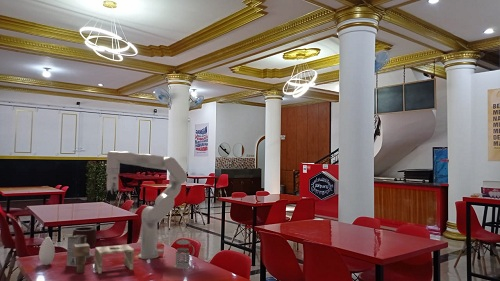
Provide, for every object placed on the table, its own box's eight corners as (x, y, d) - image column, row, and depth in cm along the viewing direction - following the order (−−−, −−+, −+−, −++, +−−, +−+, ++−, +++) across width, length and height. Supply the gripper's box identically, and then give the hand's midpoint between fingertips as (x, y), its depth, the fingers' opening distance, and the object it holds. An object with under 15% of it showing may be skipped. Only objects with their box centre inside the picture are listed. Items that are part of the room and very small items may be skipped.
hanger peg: (86, 269, 210) (87, 243, 211) (88, 272, 204) (89, 245, 205) (72, 270, 206) (73, 244, 207) (74, 274, 200) (75, 247, 201)
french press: (172, 264, 224) (173, 221, 226) (191, 263, 229) (192, 221, 230) (175, 269, 215) (177, 224, 217) (195, 267, 220) (197, 223, 221)
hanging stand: (126, 263, 224) (127, 244, 224) (132, 269, 212) (133, 249, 212) (94, 267, 214) (95, 247, 215) (98, 273, 202) (99, 252, 203)
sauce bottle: (56, 264, 217) (58, 232, 218) (41, 267, 211) (43, 234, 213) (51, 262, 222) (52, 231, 224) (36, 264, 217) (38, 232, 218)
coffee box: (76, 261, 225) (78, 234, 226) (86, 262, 223) (87, 235, 224) (66, 265, 216) (67, 237, 217) (76, 266, 214) (77, 237, 215)
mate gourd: (68, 259, 230) (70, 225, 231) (73, 254, 243) (75, 222, 245) (96, 258, 234) (97, 225, 235) (99, 253, 247) (101, 222, 248)
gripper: (122, 172, 227) (121, 201, 225) (115, 171, 241) (113, 198, 240) (109, 171, 222) (108, 201, 221) (103, 171, 237) (101, 198, 236)
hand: (111, 199), depth 231 cm, fingers open, 9 cm apart
